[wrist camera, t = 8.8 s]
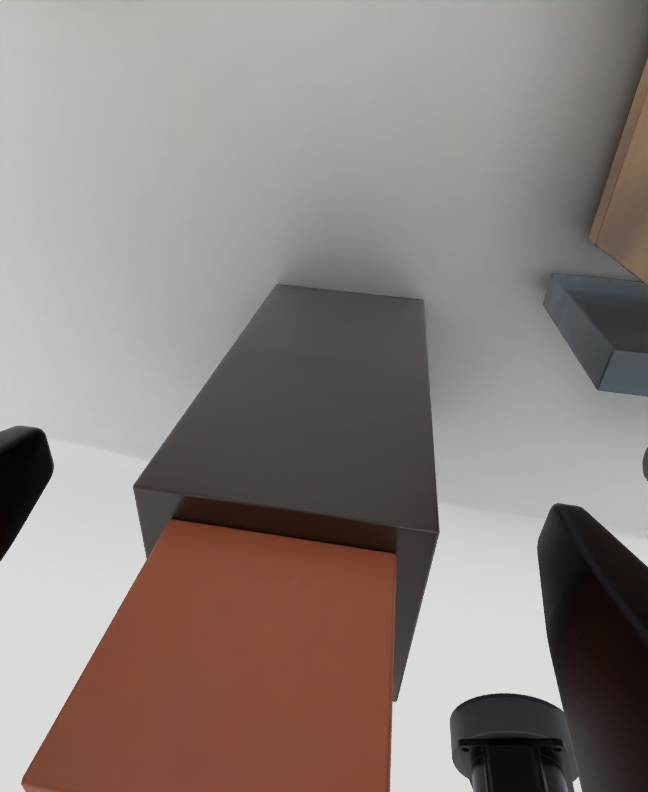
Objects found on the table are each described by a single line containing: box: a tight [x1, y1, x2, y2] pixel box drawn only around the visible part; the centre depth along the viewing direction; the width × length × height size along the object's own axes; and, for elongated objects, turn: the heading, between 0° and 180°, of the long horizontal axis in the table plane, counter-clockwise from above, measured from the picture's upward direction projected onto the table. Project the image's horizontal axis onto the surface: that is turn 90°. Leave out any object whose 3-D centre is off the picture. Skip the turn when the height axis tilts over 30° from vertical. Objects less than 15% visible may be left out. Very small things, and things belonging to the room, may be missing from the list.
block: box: [21, 519, 397, 792], centre depth 9 cm, size 5×5×5 cm
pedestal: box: [133, 285, 440, 702], centre depth 16 cm, size 6×6×12 cm
